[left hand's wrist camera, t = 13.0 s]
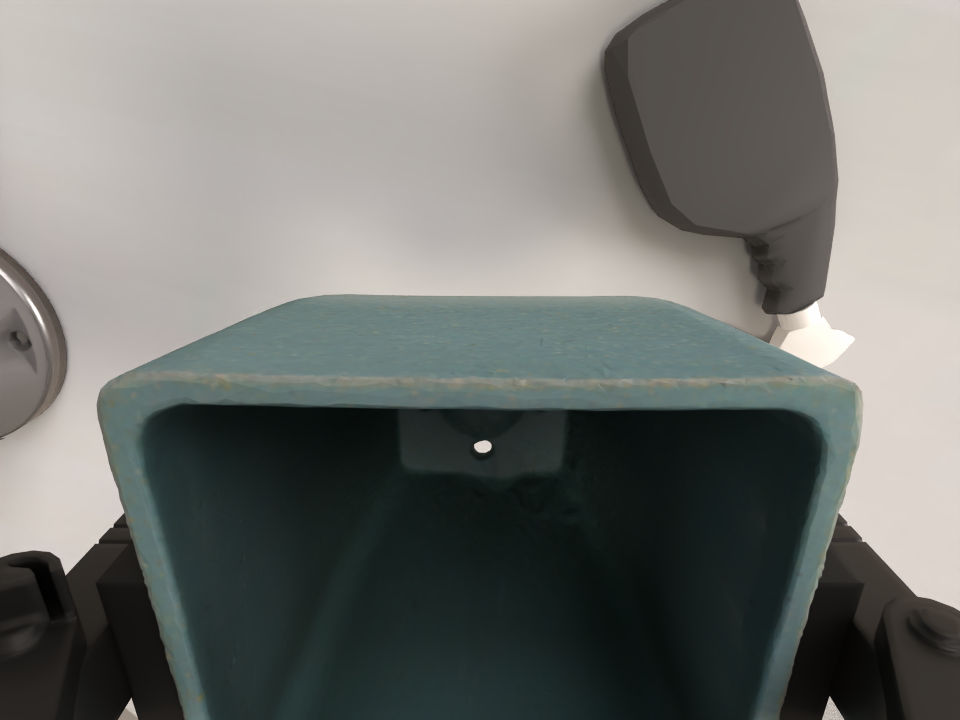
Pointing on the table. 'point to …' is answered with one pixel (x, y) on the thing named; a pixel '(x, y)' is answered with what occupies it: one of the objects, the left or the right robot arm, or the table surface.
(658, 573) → the teal square planter
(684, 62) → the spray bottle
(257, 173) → the table surface
